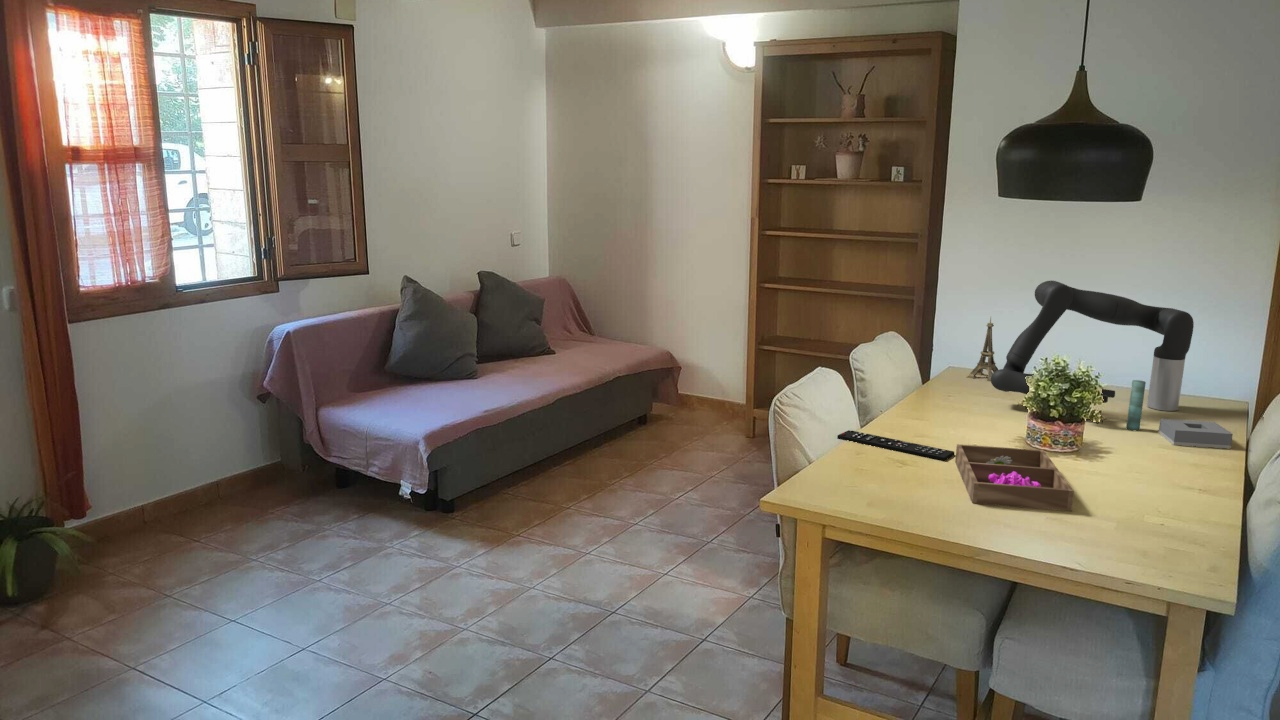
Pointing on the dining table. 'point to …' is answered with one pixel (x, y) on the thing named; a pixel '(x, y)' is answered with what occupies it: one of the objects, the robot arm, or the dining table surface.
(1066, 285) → the robot arm
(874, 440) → the remote control
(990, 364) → the eiffel tower
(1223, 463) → the dining table surface
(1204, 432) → the socket block
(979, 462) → the walnut display tray
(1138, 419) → the teal pin
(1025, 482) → the magenta lumpy cluster
